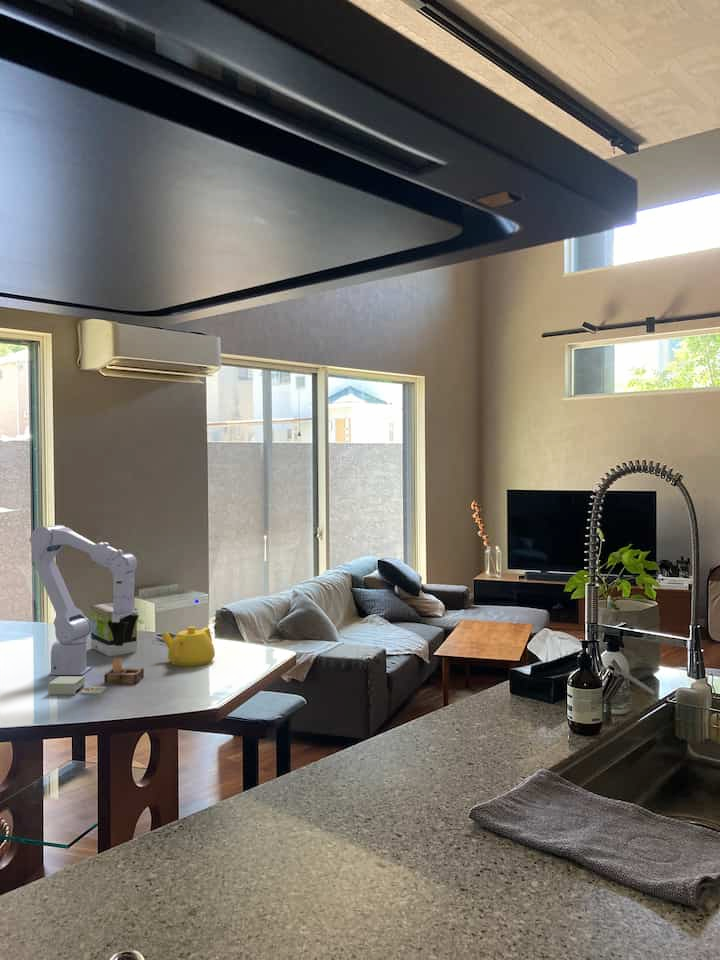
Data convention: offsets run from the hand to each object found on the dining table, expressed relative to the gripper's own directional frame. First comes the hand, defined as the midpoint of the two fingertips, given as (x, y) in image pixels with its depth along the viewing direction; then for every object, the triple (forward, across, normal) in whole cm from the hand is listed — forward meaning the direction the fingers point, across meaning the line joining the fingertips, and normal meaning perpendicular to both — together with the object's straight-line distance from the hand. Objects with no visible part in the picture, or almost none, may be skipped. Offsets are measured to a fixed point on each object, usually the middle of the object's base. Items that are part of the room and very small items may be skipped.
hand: (123, 642), depth 219 cm
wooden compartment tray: (+10, -5, -2) cm, 11 cm away
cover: (+10, -16, +10) cm, 21 cm away
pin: (+10, -5, 0) cm, 11 cm away
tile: (+10, -16, +3) cm, 19 cm away
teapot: (+10, +18, -14) cm, 25 cm away
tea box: (+10, +31, +13) cm, 35 cm away
